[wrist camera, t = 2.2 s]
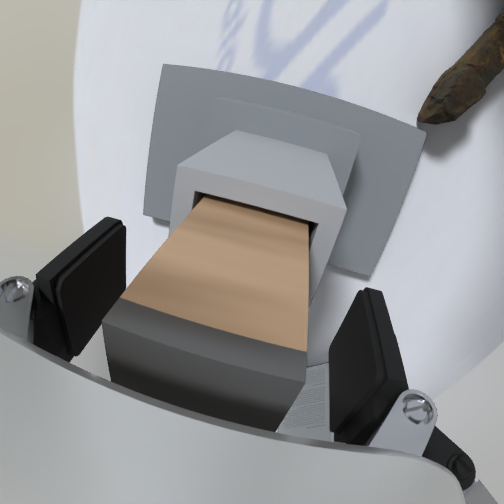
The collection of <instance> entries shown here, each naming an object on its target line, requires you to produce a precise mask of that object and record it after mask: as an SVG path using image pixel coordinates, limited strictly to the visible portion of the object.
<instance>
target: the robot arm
mask: <svg viewBox="0 0 504 504" xmlns="http://www.w3.org/2000/svg"><path fill="white" fill-rule="evenodd" d="M125 290H126V226H124V225H123V223H122V221H121V220H118V219H114V218H111V217H105V218H104V219H103V220H101V221H100V222H99V223H97V224H96V225H95V226H93V227H92V228H91V229H90V230H88V231H87V232H86V233H84V234H83V235H82V236H81V237H79V238H78V239H77V240H76V241H75V242H73V243H72V244H71V245H70V246H68V247H67V248H66V249H65V250H64V251H62V252H61V253H60V254H59V255H58V256H56V257H55V258H54V259H53V260H52V261H51V262H49V264H47V265H46V266H45V267H44V268H43V269H41V270H40V271H39V272H38V273H37V274H36V280H35V281H34V282H32V281H31V280H29V279H28V278H25V277H23V276H14V277H10V278H7V279H5V280H3V281H1V282H0V504H498V503H497V502H496V501H495V499H494V498H493V497H492V496H491V494H490V493H489V492H488V490H487V489H486V488H485V487H484V485H483V484H482V483H481V481H480V480H478V481H476V482H475V480H474V479H475V473H476V471H475V467H474V464H473V462H472V460H471V459H470V457H469V456H468V455H467V454H466V453H465V452H464V451H462V450H461V449H460V448H459V447H458V446H457V445H456V444H455V443H454V442H452V441H451V440H450V439H449V438H448V437H447V436H446V435H445V434H444V433H442V432H441V431H440V430H439V429H438V428H437V427H436V426H435V424H436V421H437V416H438V415H437V409H436V407H435V404H434V403H433V401H432V400H431V399H430V398H429V397H428V396H427V395H426V394H424V393H422V392H420V391H418V390H409V388H408V384H407V379H406V375H405V371H404V366H403V362H402V358H401V354H400V350H399V347H398V343H397V339H396V336H395V334H394V331H393V327H392V324H391V320H390V317H389V313H388V310H387V306H386V303H385V300H384V296H383V293H382V291H379V290H375V289H371V288H368V287H366V288H365V289H364V290H363V291H362V290H359V291H358V293H357V295H356V297H355V299H354V301H353V303H352V305H351V307H350V309H349V311H348V313H347V315H346V317H345V318H344V320H343V322H342V324H341V326H340V328H339V330H338V332H337V334H336V336H335V337H334V339H333V341H332V343H331V345H330V348H329V429H330V432H333V433H334V442H329V441H323V440H316V439H310V438H304V437H298V436H292V435H287V434H281V433H276V432H272V431H267V430H262V429H258V428H253V427H249V426H245V425H241V424H237V423H233V422H229V421H225V420H221V419H218V418H214V417H210V416H207V415H203V414H200V413H197V412H193V411H190V410H187V409H184V408H181V407H178V406H175V405H171V404H169V403H166V402H163V401H160V400H157V399H154V398H151V397H149V396H146V395H143V394H141V393H138V392H135V391H133V390H130V389H128V388H125V387H123V386H120V385H118V384H115V383H113V382H110V381H108V380H106V379H103V378H101V377H99V376H96V375H94V374H92V373H90V372H88V371H85V370H83V369H81V368H79V367H77V366H75V365H73V364H70V363H68V362H70V361H71V360H72V358H73V357H74V356H78V355H79V354H80V353H81V352H82V350H83V349H84V347H85V346H86V345H87V343H88V342H89V341H90V339H91V338H92V336H93V335H94V334H95V332H96V331H97V330H98V328H99V327H100V326H101V324H102V320H103V318H104V317H105V316H106V314H107V313H108V312H109V311H110V309H111V308H112V307H113V305H114V304H115V303H116V301H117V300H118V299H119V298H120V296H121V295H122V294H123V292H124V291H125ZM56 356H57V357H56ZM58 357H59V358H58ZM60 358H61V359H60ZM62 359H63V360H62ZM64 360H65V361H64ZM66 361H67V362H66ZM336 442H341V443H336ZM344 443H346V444H344Z"/></svg>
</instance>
